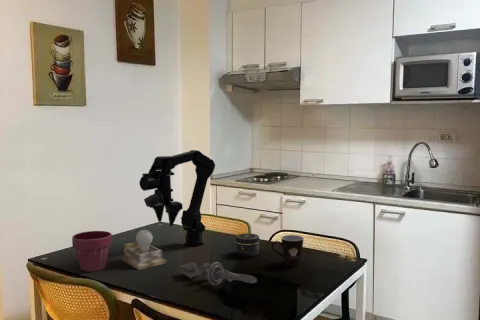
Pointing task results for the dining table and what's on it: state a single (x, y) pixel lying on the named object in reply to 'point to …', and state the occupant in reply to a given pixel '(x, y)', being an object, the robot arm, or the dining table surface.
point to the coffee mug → (291, 249)
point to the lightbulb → (144, 240)
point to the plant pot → (92, 249)
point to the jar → (247, 245)
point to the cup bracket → (142, 256)
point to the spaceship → (214, 273)
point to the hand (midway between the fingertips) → (165, 223)
